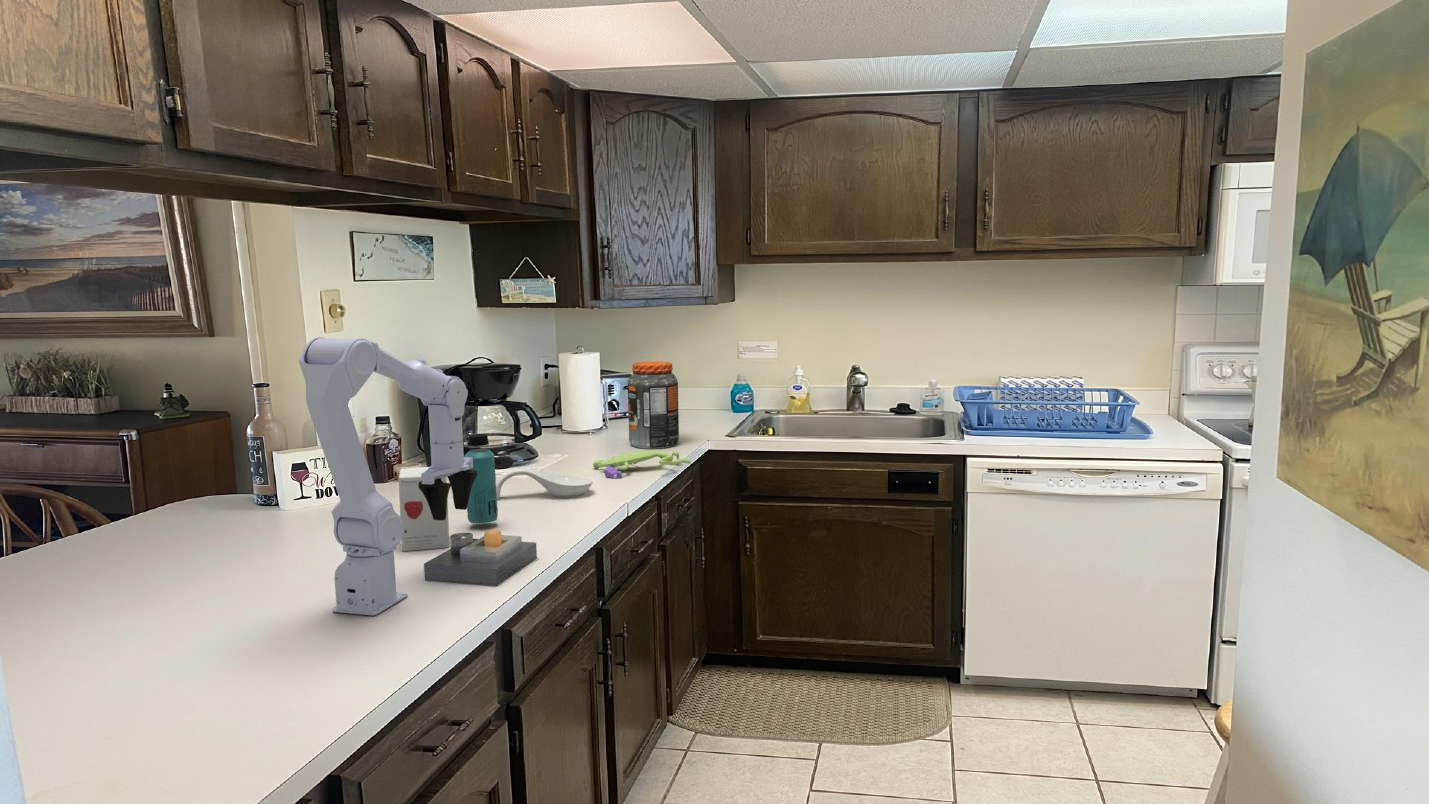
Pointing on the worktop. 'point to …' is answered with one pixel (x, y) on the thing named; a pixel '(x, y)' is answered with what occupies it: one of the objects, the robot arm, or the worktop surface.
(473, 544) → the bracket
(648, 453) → the figurine
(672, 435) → the supplement tub
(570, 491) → the spoon rest
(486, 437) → the beverage bottle
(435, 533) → the supplement box
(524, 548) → the grey peg socket block
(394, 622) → the worktop surface
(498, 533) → the pin
